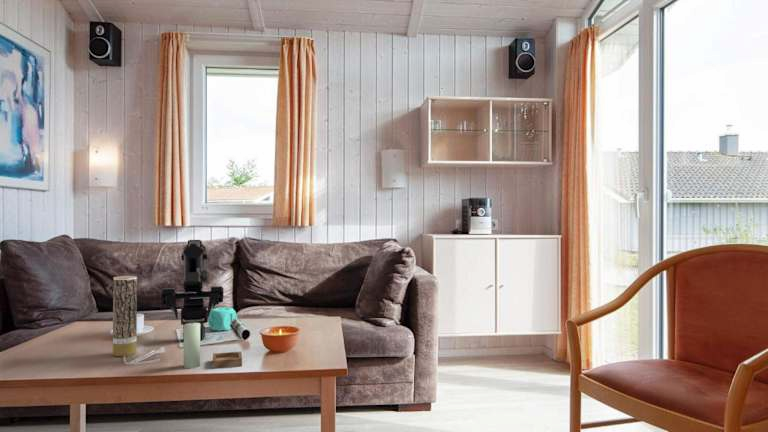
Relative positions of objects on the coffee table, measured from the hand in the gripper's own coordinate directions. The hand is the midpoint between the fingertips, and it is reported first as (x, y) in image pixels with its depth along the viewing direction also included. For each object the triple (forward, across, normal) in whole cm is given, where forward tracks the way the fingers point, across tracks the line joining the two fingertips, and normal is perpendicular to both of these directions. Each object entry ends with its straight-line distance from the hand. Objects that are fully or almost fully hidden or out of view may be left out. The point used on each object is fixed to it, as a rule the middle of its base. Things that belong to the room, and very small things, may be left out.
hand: (192, 317), depth 156 cm
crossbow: (+5, -13, +15) cm, 21 cm away
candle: (+15, 0, +4) cm, 15 cm away
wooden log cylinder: (0, -21, +19) cm, 28 cm away
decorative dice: (-20, +11, +39) cm, 45 cm away
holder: (+15, +10, +4) cm, 18 cm away
